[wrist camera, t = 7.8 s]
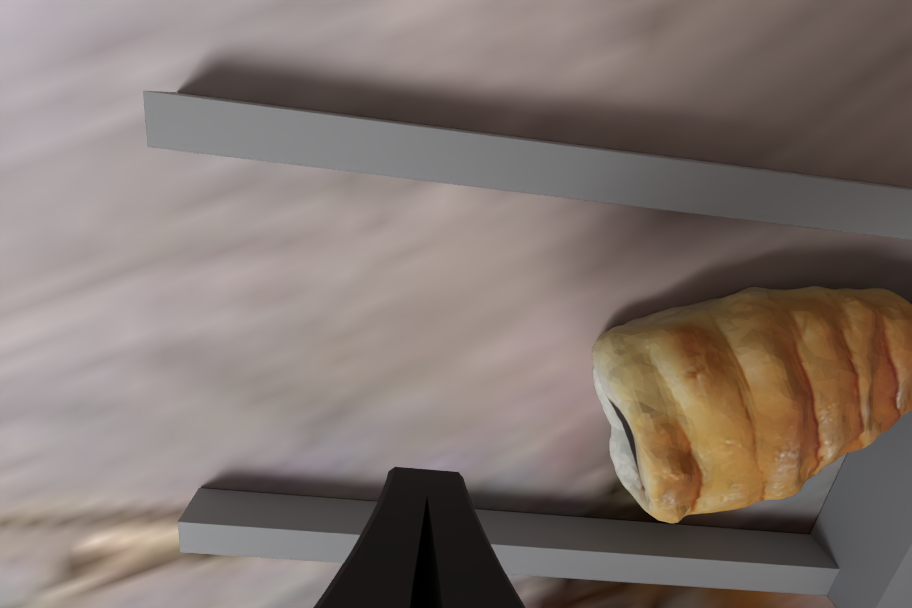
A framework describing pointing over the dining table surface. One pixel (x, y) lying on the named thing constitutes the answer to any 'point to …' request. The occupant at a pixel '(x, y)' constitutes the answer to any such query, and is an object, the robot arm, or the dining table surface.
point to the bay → (565, 537)
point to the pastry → (750, 393)
